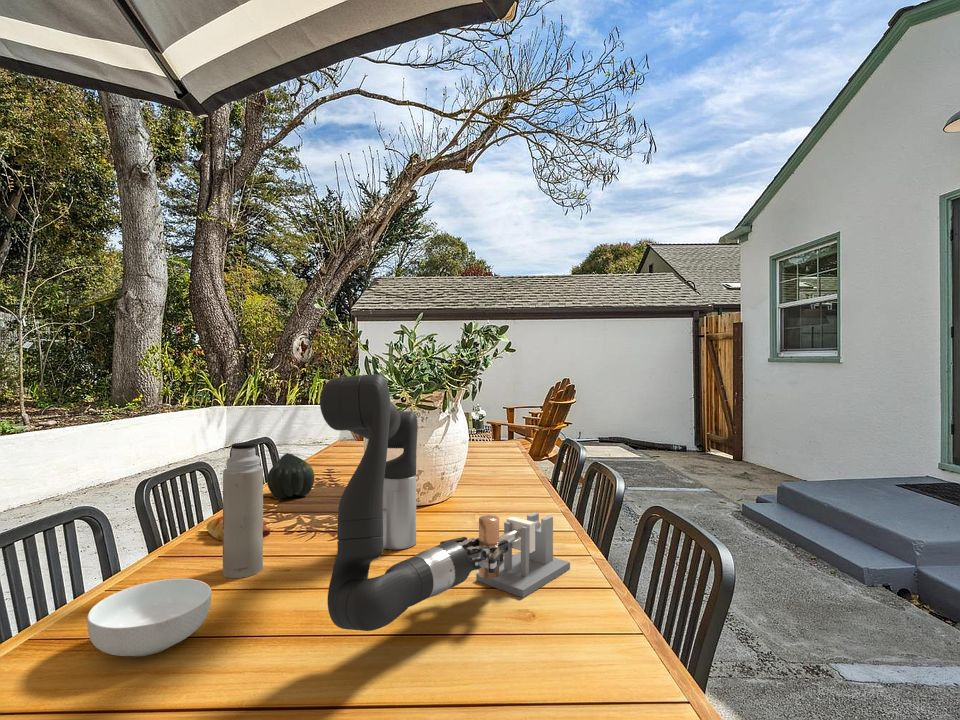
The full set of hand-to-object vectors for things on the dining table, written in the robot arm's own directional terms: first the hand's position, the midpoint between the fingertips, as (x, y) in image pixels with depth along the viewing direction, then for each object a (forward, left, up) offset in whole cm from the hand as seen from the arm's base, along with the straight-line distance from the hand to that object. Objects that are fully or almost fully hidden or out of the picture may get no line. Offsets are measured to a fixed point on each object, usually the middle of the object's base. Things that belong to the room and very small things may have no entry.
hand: (497, 542), depth 102 cm
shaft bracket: (+8, +5, -10) cm, 13 cm away
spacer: (+7, +4, -4) cm, 9 cm away
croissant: (-53, +52, -10) cm, 75 cm away
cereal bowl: (-60, +1, -10) cm, 61 cm away
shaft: (+4, +2, -6) cm, 7 cm away
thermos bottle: (-49, +27, -10) cm, 57 cm away
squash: (-40, +89, -10) cm, 98 cm away
